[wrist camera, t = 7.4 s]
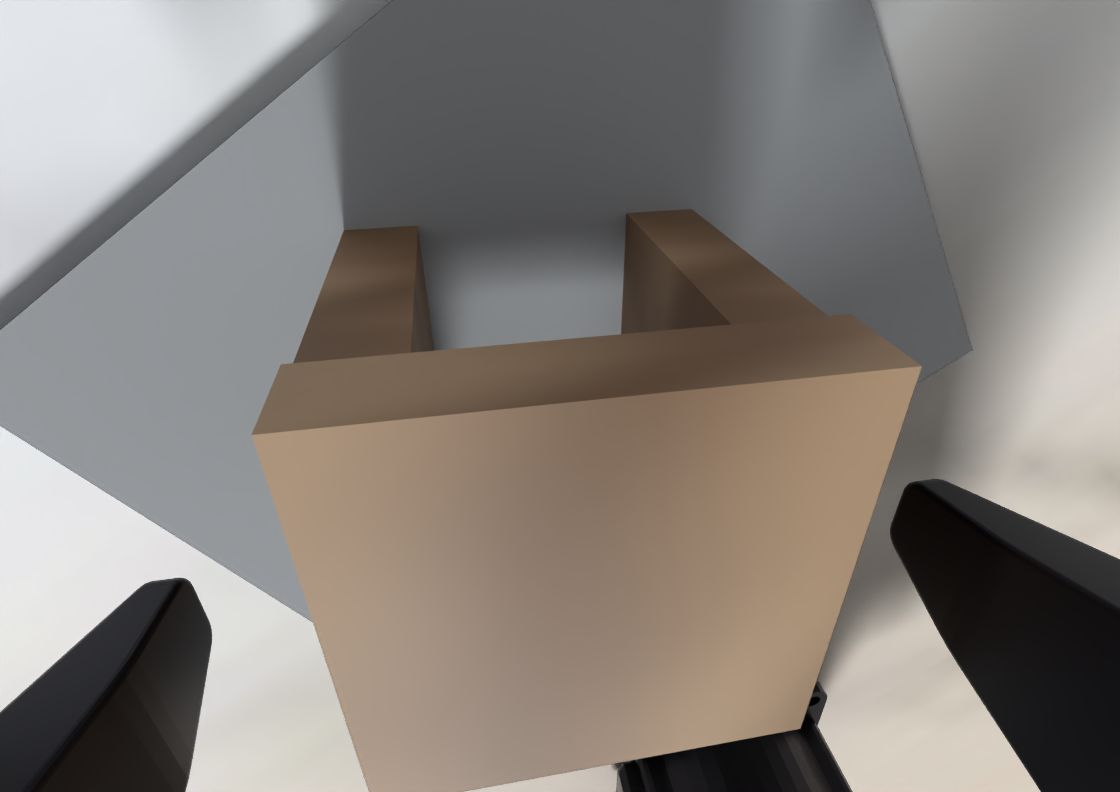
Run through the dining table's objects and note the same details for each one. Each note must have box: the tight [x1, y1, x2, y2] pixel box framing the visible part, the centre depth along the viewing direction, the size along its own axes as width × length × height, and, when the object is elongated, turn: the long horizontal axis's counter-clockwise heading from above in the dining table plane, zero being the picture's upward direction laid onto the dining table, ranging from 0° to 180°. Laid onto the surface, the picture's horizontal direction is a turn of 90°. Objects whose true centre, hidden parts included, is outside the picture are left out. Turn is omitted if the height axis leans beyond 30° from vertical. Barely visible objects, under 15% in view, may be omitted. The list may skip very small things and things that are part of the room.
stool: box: [252, 209, 922, 792], centre depth 10 cm, size 6×6×6 cm
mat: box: [0, 0, 972, 622], centre depth 12 cm, size 16×12×1 cm
